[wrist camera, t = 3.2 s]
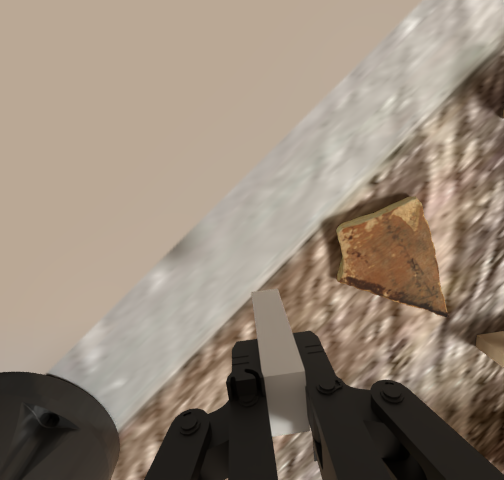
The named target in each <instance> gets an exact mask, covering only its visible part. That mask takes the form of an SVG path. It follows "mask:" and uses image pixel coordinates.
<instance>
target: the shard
mask: <svg viewBox="0 0 504 480" xmlns="http://www.w3.org/2000/svg"><path fill="white" fill-rule="evenodd" d="M336 232H337V236H338V240H339V242H340V246H341V252H342V260H341V263H340V266H339V270H338V274H337V281H338V282H340V283H344V284H347V285H349V286H354V287H355V288H357V289H361V290H364V291H369V292H371V293H373V294H375V295H379V296H382V297H385V298H387V299H389V300H392V301H395V302H399V303H402V304H406V305H409V306H412V307H417V308H423V309H425V310H429V311H431V312H434V313H435V314H437V315H441V316H444V317H449V316H448V313H447V310H446V304H445V299H444V297H443V294H442V292H441V286H440V281H439V270H438V264H437V261H436V256H435V248H434V244H433V242H432V239H431V232H430V229H429V226H428V222H427V220H426V219H425V218H424V212H423V207H422V204H421V202H420V201H419V200H418V199H417V198H416V197H407V198H404V199H402V200H401V201H398V202H396V203H394V204H392V205H389V206H387V207H385V208H383V209H381V210H379V211H376V212H375V213H371V214H368V215H364V216H361V217H358V218H356V219H353V220H351V221H347V222H344V223H342V224H340V225H339V227H338V228H337V230H336Z"/></svg>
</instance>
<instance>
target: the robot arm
mask: <svg viewBox="0 0 504 480" xmlns="http://www.w3.org/2000/svg"><path fill="white" fill-rule="evenodd" d="M251 293H252V301H253V309H254V316H255V324H256V332H257V339H253V340H246V341H239V342H236V344H235V345H234V347H233V349H232V372H231V374H230V375H229V376H228V378H227V381H226V385H227V391H228V396H229V400H228V402H227V403H226V404H225V405H224V406H223V407H221V408H220V409H218V410H216V411H214V412H212V413H209V414H207V413H206V412H205V411H204V410H201V409H197V408H196V409H189V410H187V411H184V412H182V413H181V414H180V415H178V416H177V417H176V418H175V419H174V421H173V422H172V424H171V426H170V428H169V430H168V432H167V434H166V436H165V438H164V440H163V442H162V444H161V446H160V448H159V450H158V452H157V454H156V456H155V458H154V461H153V463H152V465H151V467H150V469H149V471H148V473H147V475H146V477H145V479H144V480H225V479H227V478H228V480H278V476H277V469H276V462H275V454H274V447H273V440H272V437H273V436H280V435H287V434H293V433H300V432H307V431H310V428H311V431H312V436H313V449H314V461H318V465H319V468H320V472H321V476H322V479H323V480H504V475H503V474H502V473H501V472H500V471H499V470H498V469H497V468H496V467H494V466H493V465H492V464H491V463H490V462H489V461H488V460H487V459H486V458H484V457H483V456H482V455H481V454H480V453H479V452H478V451H477V450H476V449H475V448H473V447H472V446H471V445H470V444H469V443H468V442H467V441H466V440H465V439H463V438H462V437H461V436H460V435H459V434H458V433H457V432H456V431H455V430H453V429H452V428H451V427H450V426H449V425H448V424H447V423H446V422H445V421H443V420H442V419H441V418H440V417H439V416H438V415H437V414H436V413H435V412H433V411H432V410H431V409H430V408H429V407H428V406H427V405H426V404H425V403H423V402H422V401H421V400H420V399H419V398H418V397H417V396H416V395H415V394H413V393H412V392H411V391H410V390H409V389H408V388H407V387H405V386H404V385H402V384H401V383H398V382H395V381H392V380H381V381H377V382H376V383H374V384H373V385H372V387H371V390H365V389H357V388H353V387H350V386H347V385H346V384H345V383H344V382H343V381H342V379H340V378H338V377H337V376H336V374H335V372H334V370H333V368H332V366H331V364H330V362H329V360H328V357H327V355H326V353H325V352H324V349H323V347H322V345H321V342H320V340H319V338H318V336H316V335H315V334H314V333H313V332H311V331H305V332H298V333H292V330H291V327H290V324H289V321H288V318H287V315H286V312H285V309H284V306H283V303H282V300H281V297H280V294H279V291H278V289H271V290H264V291H257V292H251ZM309 424H310V427H309ZM119 451H120V443H119V436H118V432H117V429H116V426H115V424H114V422H113V420H112V419H111V417H110V415H109V414H108V413H107V411H106V410H105V409H104V408H103V406H102V405H101V404H100V403H99V402H97V401H96V400H95V399H94V398H93V397H92V396H90V395H89V394H88V393H86V392H85V391H83V390H81V389H80V388H78V387H76V386H74V385H72V384H70V383H68V382H65V381H63V380H60V379H57V378H54V377H51V376H47V375H42V374H36V373H29V372H2V373H0V480H111V477H112V474H113V472H114V469H115V466H116V464H117V461H118V457H119Z"/></svg>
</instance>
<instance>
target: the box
mask: <svg viewBox="0 0 504 480" xmlns="http://www.w3.org/2000/svg"><path fill="white" fill-rule="evenodd" d="M503 118H504V110H503ZM476 347H477V348H478V349H480V350H481V351H482V352H483V353H485V354H486V355H487V356H489V357H490V358H491V359H493V360H494V361H495V362H496V363H498V364H499V365H500V366H502V367H503V368H504V331H500V332H494V333H487V334H481V335H477V339H476Z"/></svg>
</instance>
